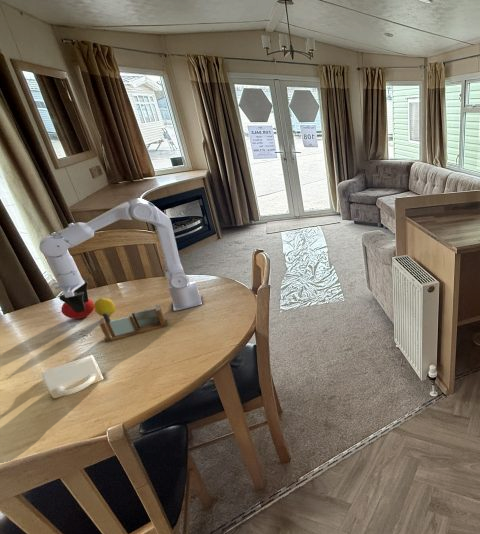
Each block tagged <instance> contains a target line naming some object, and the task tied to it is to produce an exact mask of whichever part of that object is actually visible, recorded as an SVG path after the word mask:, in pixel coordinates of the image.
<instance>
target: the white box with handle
mask: <svg viewBox="0 0 480 534" xmlns="http://www.w3.org/2000/svg"><path fill="white" fill-rule="evenodd" d="M41 376H42V379H43V382H44V385H45V387H46V389H47V391H48V392H49V394H50V396H51V397H52V398H53V399H58V398H60V397H62V396H69V395H70V396H71V395H73V394H76V393H78V392H80V391H82V390H84V389H86V388H88V387H89V386H90V385H93V384H96V383H99V382H100V381H103V380H104V376H103V374H102V371H101V368H100V367H99V364H98V362H97V360H96V358H95V357H94V355H93V354H90V355H88V356H85V357H82V358H79V359H76V360H73V361H70V362H67V363H64V364H61V365H58V366H55V367H52V368H49V369H47V370H44V371H42V373H41Z"/></svg>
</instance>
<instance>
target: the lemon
mask: <svg viewBox="0 0 480 534" xmlns="http://www.w3.org/2000/svg"><path fill="white" fill-rule="evenodd" d="M94 311H95V313H96V314H97V315H99V316H101V317H103V313H107V314H108V317H109V318H110V317H111V316H112V315H113V314H114V313H115V312H116V305H115V303H114V302H113V301H112V299H109V298H105V297H104V298H103V297H101V298H99V299H97V300H96V301H95V302H94Z"/></svg>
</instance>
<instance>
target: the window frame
mask: <svg viewBox="0 0 480 534" xmlns="http://www.w3.org/2000/svg"><path fill="white" fill-rule="evenodd" d="M131 316H133V318H134V321H135V323H136V326H137V328H138V331H133V332H129V333H125V334H121V335H117V336H114V337H112V335H111V333H110V331H109V329H108V327H107V324H106V321H105V319H104V317H103V318H100V322H99V327H100V329H101V330H102V332H103V335H104V338H105V339H106V341H107V342H111V341H115V340H118V339H123V338H126V337H130V336H134V335H138V334H142V333H145V332H149V331H153V330H157V329H160V328H164V327H166V319H165V317H164V314H163V311H162V309H161V306H160V305H155V307H152V308H149V309H145V310H140V311H136V312H132V313H131Z"/></svg>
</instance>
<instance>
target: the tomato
mask: <svg viewBox="0 0 480 534" xmlns="http://www.w3.org/2000/svg"><path fill="white" fill-rule="evenodd" d="M94 304H95V302H94V301H93V300H92V299H90V298H88V302H85V303H84V305H85V311H84V312H79V313H76V312H75V311H74V310H73V309H72V308H71V307H70V306H69V305H68V304H67V303H65V302H63V304H62V306H61V310H60V311H61V313H62V314H63V315H64V316H65V317H67V318H69V319H82V318H86V317H88V316H90V315H91V314H93V312H94V311H95V308H94Z"/></svg>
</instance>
